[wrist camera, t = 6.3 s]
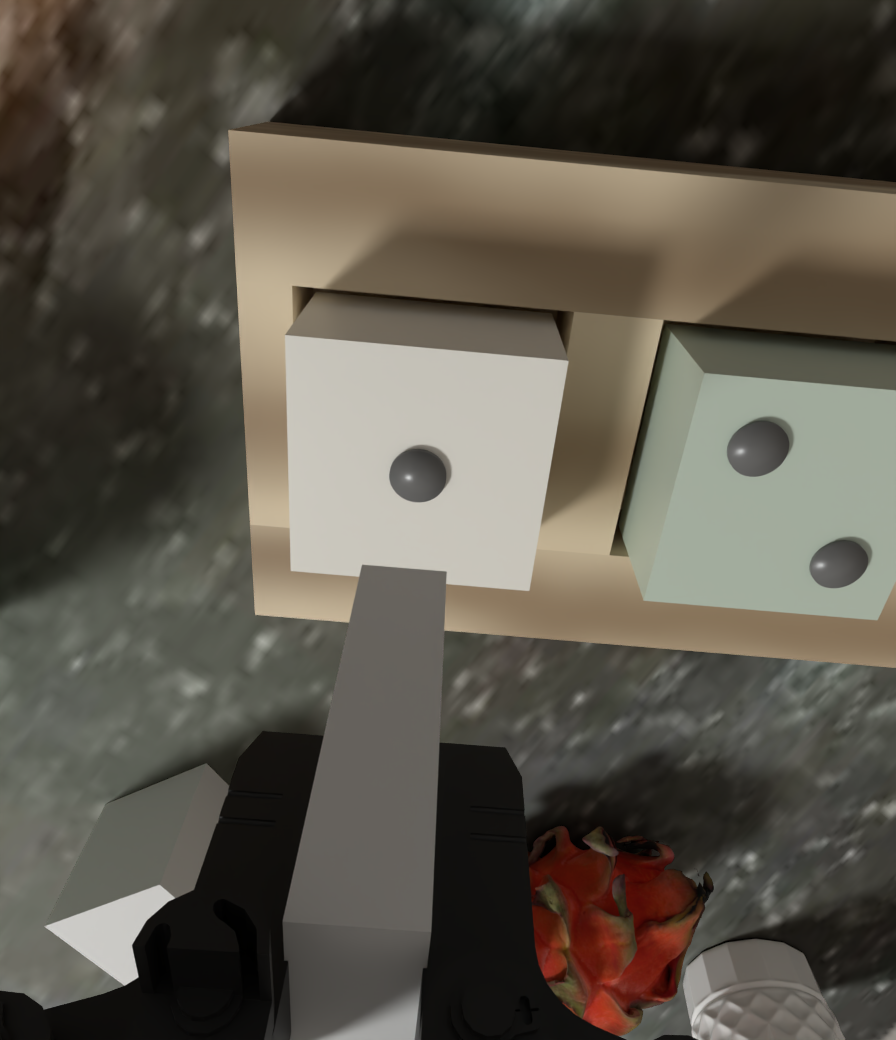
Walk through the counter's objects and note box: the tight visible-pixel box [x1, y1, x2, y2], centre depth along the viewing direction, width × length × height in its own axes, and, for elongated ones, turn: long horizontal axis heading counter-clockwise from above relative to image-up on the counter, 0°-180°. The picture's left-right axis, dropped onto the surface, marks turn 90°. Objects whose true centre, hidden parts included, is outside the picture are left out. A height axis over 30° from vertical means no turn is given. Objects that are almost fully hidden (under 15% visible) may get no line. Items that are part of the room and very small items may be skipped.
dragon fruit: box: [528, 826, 714, 1036], centre depth 33 cm, size 8×8×12 cm
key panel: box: [228, 122, 896, 668], centre depth 23 cm, size 14×29×4 cm, turn 85°
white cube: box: [45, 763, 229, 986], centre depth 33 cm, size 6×6×6 cm
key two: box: [619, 324, 896, 620], centre depth 20 cm, size 6×6×4 cm
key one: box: [285, 292, 569, 591], centre depth 20 cm, size 6×6×4 cm
